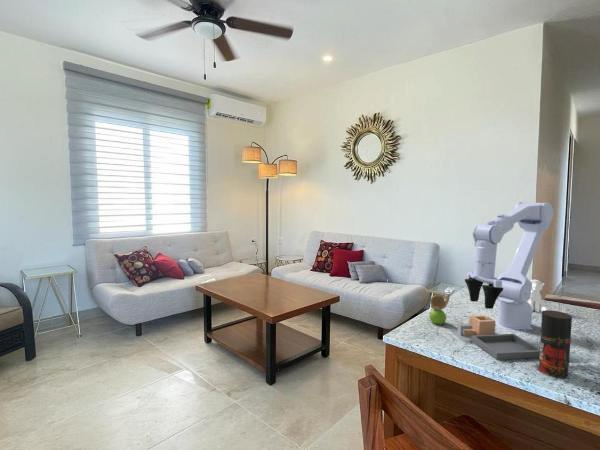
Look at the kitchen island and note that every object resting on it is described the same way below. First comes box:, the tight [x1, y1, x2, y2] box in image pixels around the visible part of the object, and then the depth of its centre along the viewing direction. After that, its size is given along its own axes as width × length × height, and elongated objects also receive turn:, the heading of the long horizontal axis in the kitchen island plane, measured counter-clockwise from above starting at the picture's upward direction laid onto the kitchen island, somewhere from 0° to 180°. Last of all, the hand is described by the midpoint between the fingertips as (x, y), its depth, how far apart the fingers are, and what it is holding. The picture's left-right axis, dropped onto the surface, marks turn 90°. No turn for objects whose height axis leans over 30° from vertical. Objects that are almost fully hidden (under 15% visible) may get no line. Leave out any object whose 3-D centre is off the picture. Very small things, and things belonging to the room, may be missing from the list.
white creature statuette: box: [527, 279, 549, 314], centre depth 131 cm, size 10×9×12 cm
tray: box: [470, 333, 540, 361], centre depth 96 cm, size 14×12×2 cm
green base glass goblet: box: [429, 290, 451, 326], centre depth 116 cm, size 5×6×12 cm
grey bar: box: [457, 323, 472, 336], centre depth 107 cm, size 8×2×4 cm, turn 95°
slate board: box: [447, 328, 498, 342], centre depth 107 cm, size 14×9×1 cm, turn 95°
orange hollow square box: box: [463, 314, 496, 335], centre depth 107 cm, size 9×5×5 cm, turn 95°
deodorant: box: [538, 309, 573, 379], centre depth 84 cm, size 6×6×15 cm
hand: (481, 304), depth 107 cm, fingers open, 7 cm apart
